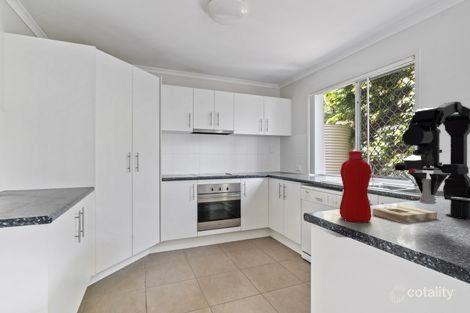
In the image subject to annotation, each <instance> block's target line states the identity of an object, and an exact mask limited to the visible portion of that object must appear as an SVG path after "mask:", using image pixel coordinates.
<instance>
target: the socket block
mask: <svg viewBox="0 0 470 313" xmlns="http://www.w3.org/2000/svg"><path fill="white" fill-rule="evenodd" d="M372 215H373V216H375V215H376V216H375V217H379V216H380V217H379V218H382V217H384V218H383V219H386V218H387V220H390V219H391V221H394V220H395V221H394V222H397V221H398V222H399V223H403V224H404V223H413V222H422V221H429V220H430V221H431V220H437V219H438V211H433V210H429V209H424V208H418V207H413V206H407V205H398V206H397V205H395V206H389V207H388V206H386V207H376V208H372V210H371V216H372Z"/></svg>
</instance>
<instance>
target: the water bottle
mask: <svg viewBox="0 0 470 313" xmlns="http://www.w3.org/2000/svg"><path fill="white" fill-rule="evenodd" d="M339 174H340V178H341V182H342V187H343V189H342V190H343V192H342V197H341V201H340V205H339V215H340V218H342V219H344V220H345V221H347V222H351V223H368V222H370V221H371V219H372V208H371V203H370V200H369V195H368V191H369V190H368V188H371V187H374V184H372V185H371V186H370V181H371V178H372V180H374V176H373V172H372V169H371V165H370V164H369V163H368V162H367V161H365V160H364V156H363V152H362V151H359V150H351V151H349V152H348V159H347V160H345V161H344V162H343V163H342V164H341V166H340V171H339Z"/></svg>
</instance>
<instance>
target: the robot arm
mask: <svg viewBox="0 0 470 313" xmlns="http://www.w3.org/2000/svg"><path fill="white" fill-rule="evenodd" d="M441 125H443V126H444V131H445V132H446V133H447V134H448V136H449V137H450V163H443V162H441V161H440V154H443V149H440V138H441V137H440V136H441V135H440V134H441V133H442V131H441V129H439V128H440V127H441ZM469 134H470V108H469V107H467V106H464V105H462V102H461V101H457V100H456V101H450V102H443V103H442V104H441V105H437V106H436V107H430V108H422V109H421V108H420V109H417V110H415V112H414V113H413V115H412V116H411V120H410V121H409V124H408V126H407V129H406V130H404V132H403V133H402V140H403V143H404V144H406V145H408V146H413V147H416V149H414V150H413V154H412V155H410V156H407V157H405V158H403V162H397V163H395V165H394V171H399V172H404V171H408V172H406V173H407V174H409V175H411V177H412V178H414V180H415V182H416V185H417V188H418V190H419V192H420V195H422V192H423V183H422V182H421V181H422V180H423V178H426V179H427V178H428V177H427V176H428V175H429V178H430V179H431V195H434V196H435V195H436V194H437V193H438V190H439V188H440V187H441V185H442V184H443V183H444V184H443V187H442V192H443V193H442V194H443V200H445V201H450V205H449V206H450V208H449V210H450V212H449V213H446V214H445V216H448V217H453V218H458V219H463V220H470V176H469V169H470V168H469V166H468V136H469ZM424 171H428V172H429V171H431V172H433V173H428V172H424Z"/></svg>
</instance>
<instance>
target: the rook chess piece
mask: <svg viewBox="0 0 470 313" xmlns="http://www.w3.org/2000/svg"><path fill="white" fill-rule="evenodd" d="M421 182H422V183H423V192H422V194H420V196H419V200H418V201H419V203H421V204H426V205H436V204H437V198H436V197H435V195H431V178H429V177H427V178H423V180H422V181H421Z"/></svg>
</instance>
